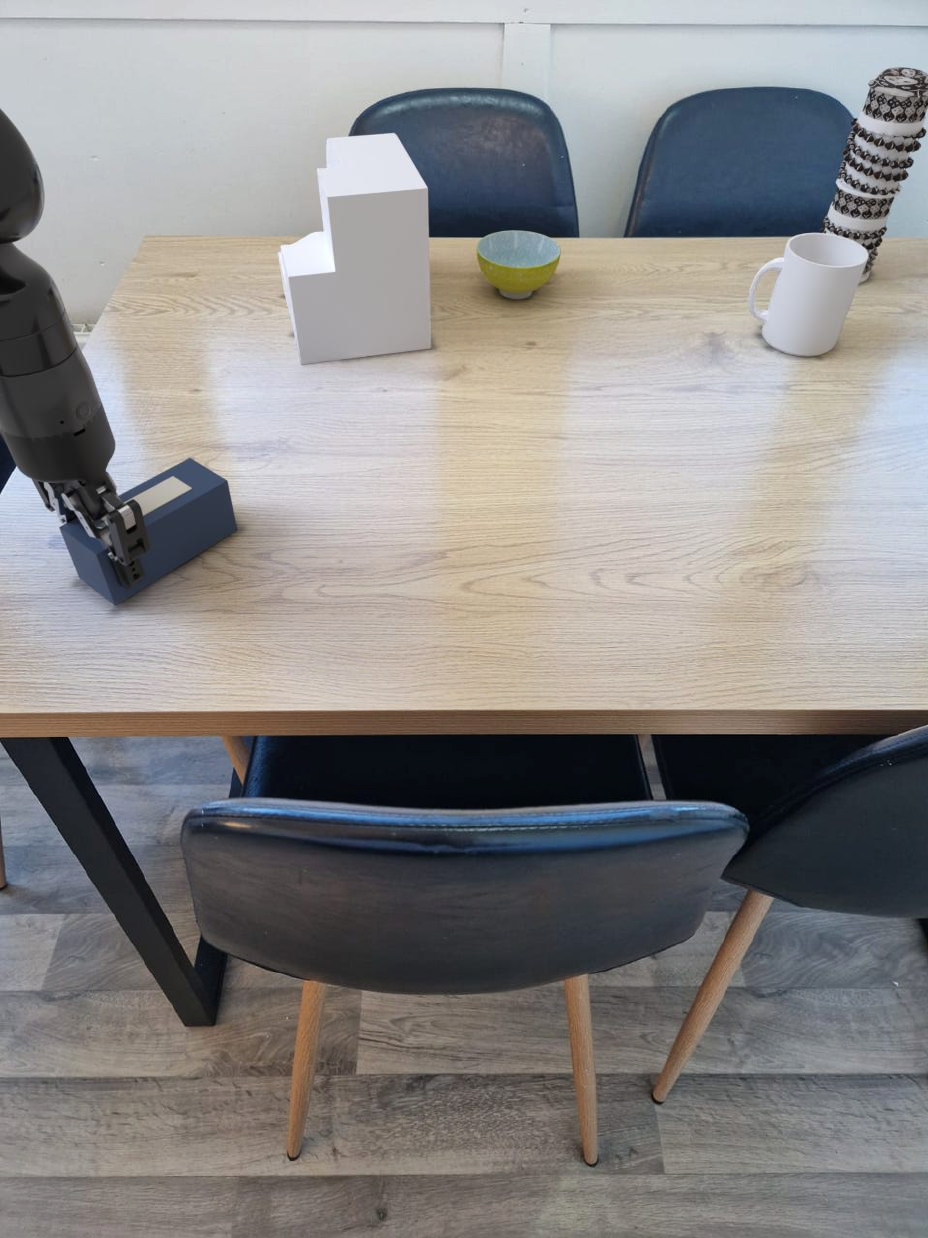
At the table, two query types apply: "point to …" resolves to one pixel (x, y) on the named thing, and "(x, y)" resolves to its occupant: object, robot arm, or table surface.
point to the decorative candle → (878, 158)
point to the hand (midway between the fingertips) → (112, 566)
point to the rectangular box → (159, 527)
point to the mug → (810, 293)
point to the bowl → (518, 261)
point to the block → (362, 256)
